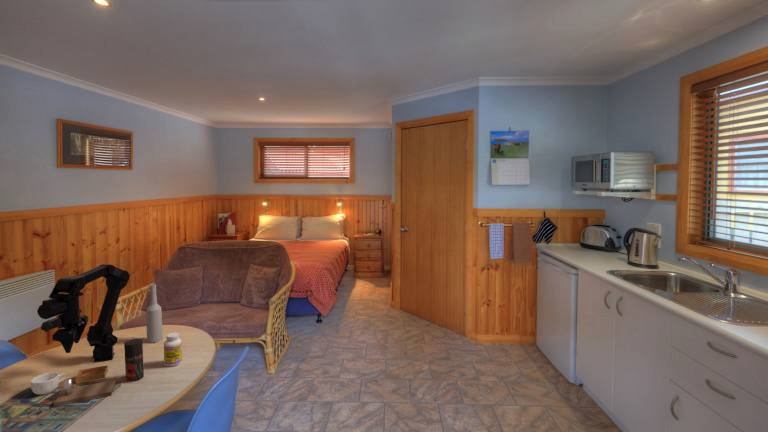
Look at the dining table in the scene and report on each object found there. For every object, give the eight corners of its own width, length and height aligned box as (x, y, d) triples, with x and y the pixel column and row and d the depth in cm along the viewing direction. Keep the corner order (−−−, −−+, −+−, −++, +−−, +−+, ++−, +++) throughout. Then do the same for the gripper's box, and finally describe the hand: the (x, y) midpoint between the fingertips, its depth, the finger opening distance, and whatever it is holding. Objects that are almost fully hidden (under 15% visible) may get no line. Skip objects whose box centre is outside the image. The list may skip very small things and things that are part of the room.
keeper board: (115, 383, 141) (115, 379, 141) (111, 395, 133) (111, 391, 133) (62, 393, 133) (61, 389, 133) (53, 407, 125) (53, 403, 125)
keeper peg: (73, 392, 132) (72, 377, 131) (71, 394, 130) (70, 380, 130) (66, 393, 131) (65, 378, 131) (64, 396, 129) (63, 381, 129)
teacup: (37, 399, 130) (36, 385, 129) (26, 394, 133) (25, 379, 132) (71, 385, 139) (70, 372, 138) (60, 381, 142) (59, 367, 141)
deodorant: (147, 375, 147) (146, 339, 145) (132, 383, 141) (131, 346, 140) (136, 373, 149) (135, 337, 147) (122, 380, 143) (120, 343, 142)
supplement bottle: (163, 368, 153) (162, 338, 152) (165, 361, 159) (164, 332, 158) (181, 365, 155) (180, 336, 154) (182, 358, 161) (182, 330, 160)
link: (107, 371, 150) (107, 365, 149) (104, 378, 144) (104, 372, 144) (80, 376, 145) (79, 370, 145) (75, 383, 140) (75, 377, 140)
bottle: (150, 344, 175) (148, 287, 172) (144, 340, 178) (142, 285, 176) (165, 339, 180) (163, 284, 178) (158, 336, 184) (156, 282, 181)
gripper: (53, 304, 148) (56, 341, 149) (32, 320, 131) (35, 362, 133) (87, 301, 153) (89, 337, 154) (71, 316, 136) (73, 356, 137)
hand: (72, 347), depth 144 cm, fingers open, 9 cm apart
